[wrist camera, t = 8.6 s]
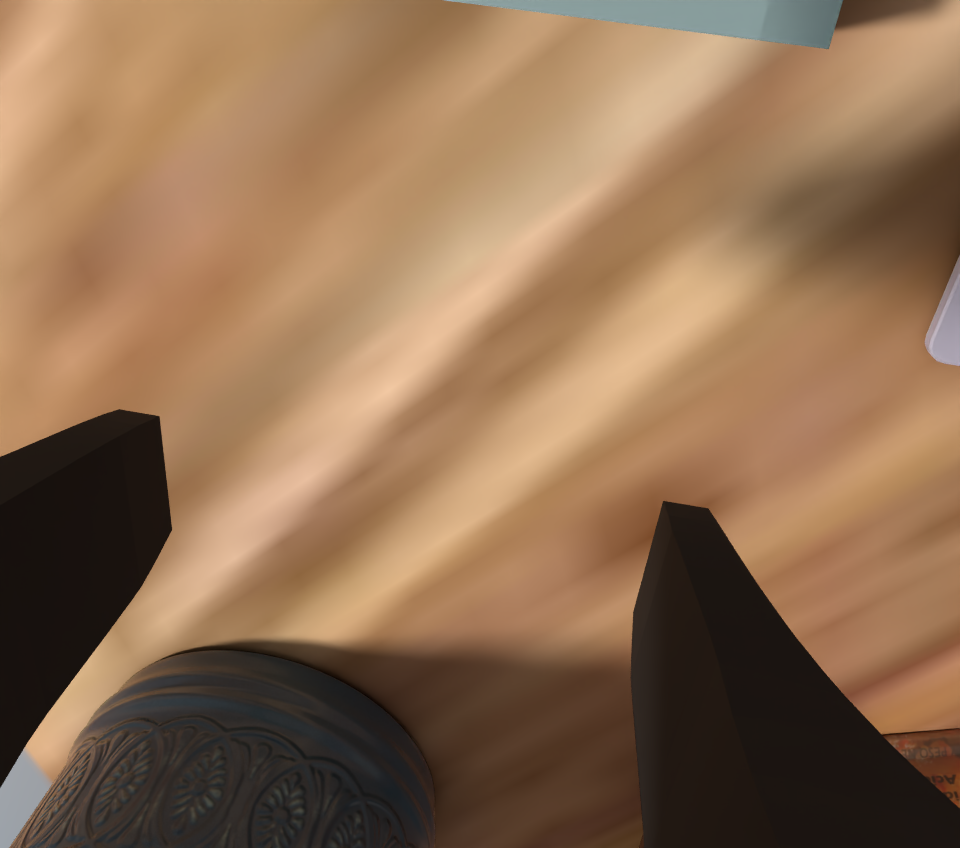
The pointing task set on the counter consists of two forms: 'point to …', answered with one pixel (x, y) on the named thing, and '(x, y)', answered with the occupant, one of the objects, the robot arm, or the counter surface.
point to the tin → (930, 758)
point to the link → (704, 16)
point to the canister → (237, 764)
